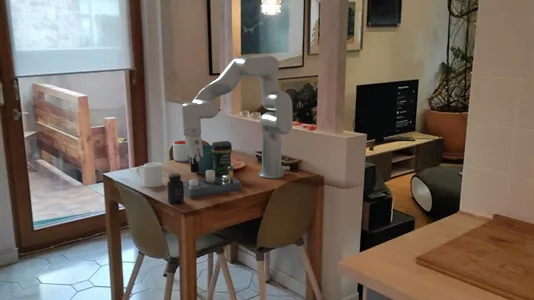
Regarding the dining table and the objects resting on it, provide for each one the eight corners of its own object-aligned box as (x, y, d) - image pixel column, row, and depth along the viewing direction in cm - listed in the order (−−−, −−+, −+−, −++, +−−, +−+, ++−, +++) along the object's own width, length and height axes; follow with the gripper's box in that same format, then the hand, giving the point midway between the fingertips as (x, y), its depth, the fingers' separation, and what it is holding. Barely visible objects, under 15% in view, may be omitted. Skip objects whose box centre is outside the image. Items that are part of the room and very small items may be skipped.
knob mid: (213, 180, 239) (212, 169, 238) (216, 182, 235) (216, 171, 234) (204, 181, 237) (204, 170, 236) (208, 183, 234) (207, 172, 232)
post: (232, 181, 238) (232, 166, 236) (234, 182, 235) (234, 167, 234) (227, 181, 236) (227, 166, 235) (229, 183, 234) (229, 168, 233)
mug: (140, 181, 251) (139, 161, 248) (164, 182, 249) (163, 162, 247) (134, 186, 243) (132, 166, 241) (159, 187, 241) (158, 167, 239)
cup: (195, 159, 293) (195, 141, 290) (183, 163, 284) (183, 145, 282) (181, 157, 298) (181, 139, 295) (169, 160, 290) (169, 143, 287)
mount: (229, 183, 248) (229, 171, 247) (241, 190, 237) (240, 178, 236) (180, 190, 237) (180, 178, 236) (190, 198, 226) (190, 185, 225)
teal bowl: (180, 171, 268) (179, 148, 265) (209, 165, 279) (208, 143, 277) (200, 179, 254) (199, 154, 252) (230, 172, 266) (229, 149, 263)
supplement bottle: (185, 199, 225) (184, 172, 222) (183, 204, 218) (182, 177, 216) (169, 199, 225) (167, 172, 222) (166, 204, 218) (165, 177, 215)
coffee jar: (215, 182, 250) (215, 144, 246) (210, 177, 257) (209, 140, 253) (234, 179, 254) (234, 142, 250) (228, 175, 261) (227, 139, 257)
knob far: (196, 189, 236) (196, 178, 235) (199, 192, 232) (199, 181, 231) (188, 191, 234) (187, 180, 233) (191, 193, 231) (190, 182, 229)
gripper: (206, 133, 222) (209, 174, 227) (194, 127, 235) (197, 166, 240) (190, 135, 219) (192, 177, 224) (178, 129, 232) (181, 169, 236)
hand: (194, 171), depth 232 cm, fingers closed
